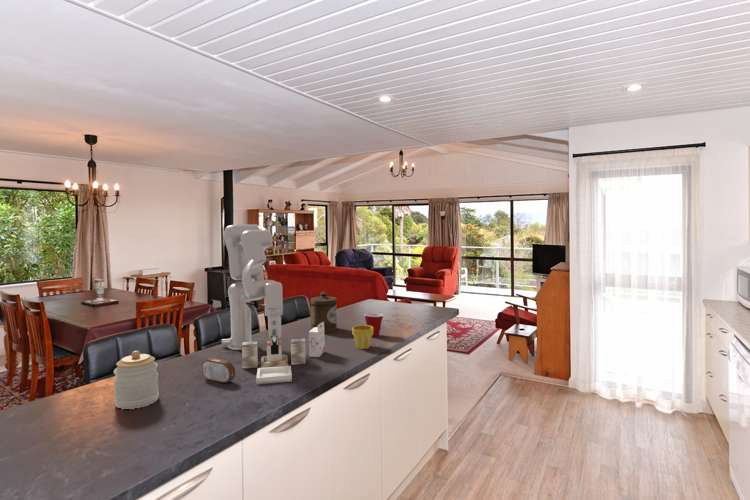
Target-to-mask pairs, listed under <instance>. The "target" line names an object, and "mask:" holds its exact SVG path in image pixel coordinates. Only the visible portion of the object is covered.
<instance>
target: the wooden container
mask: <svg viewBox="0 0 750 500" xmlns="http://www.w3.org/2000/svg"><path fill="white" fill-rule="evenodd" d="M319 294H320V296H315V297H311V298H310V320H309V321H310V324H309V325H310V326H309V327H310V330H312V329H313V328H314V327H318V325H319V324H320V323H322V322H324V334H328V333H329V332H330V333H334V332H336V331H337V329H338V326H337V324H338V323H337V322H338V321H337V320H338V319H337V317H338V316H337V314H338V313H337V297H334V296H328V295H327V292H326V291H322V292H320V293H319ZM320 327H322V325H321V326H320Z"/></svg>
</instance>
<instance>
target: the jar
mask: <svg viewBox="0 0 750 500" xmlns="http://www.w3.org/2000/svg"><path fill="white" fill-rule="evenodd" d="M155 360H156V357H154V356H152V355H150V354H147V353H140V351H139V350H134V351H132V352H131V355H128V356H124V357H122V358H121V359H119V361H117V362H116V363H115V365H116V366H117V367H115V369H114V370H113V374H114V375H115V379H114V380H113V383H114V394H115V395H114V403H115V408H117V407H118V409H119V408H121V409H120V410H124V409H130V410H136V409H135V408H137V409H141V407H142V408H145V407H148V406H150V404H151V405H153V404H154V403H156V402H157V401H158V400H159V395H160V394H159V393H160V391H159V378H158V377H159V373H158V372H157V368H158V367H159V365H158V363H157V362H155Z"/></svg>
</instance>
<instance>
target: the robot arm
mask: <svg viewBox="0 0 750 500" xmlns="http://www.w3.org/2000/svg"><path fill="white" fill-rule="evenodd" d="M273 238H274V237H273V235H272V233H271V232H270V230H269V229H267V228H266V227H263V226H262V225H259V224H244V223H243V224H231V225H227V226H226V227H225V229H224V230H223V241H224V244H225V246H226V250H227V253H228V266H229V268H228V269H229V274H230V278H231V279H232V280H235V281H241V282H235V283H232V284H230V286H229V287H228V289H227V295H228V300H229V306H230V309H229V310H230V338H222V339H221V344H223V345H226V344H227V348H228V349H229V350H232V351H233V350H235V351H242V343H243V342H254V341H253V340H252V311H251V308H250V307H249V305H248V304H247V303H246V302H252V301H259V300H262V299H263V301H264V316H265V317H267V327H268V329H267V330H268V336H269V337H268V338H269V340H270V341H271V355H273V354H279V344H278V340H282V317H281V316H283V315H284V305H283V303H284V301H283V300H284V299H283V297H284V296H283V284H282V283H281V282H280V281H276V280H274V279H268V280H267V279H266V280H265V279H264V277H265V276H264V267H263V265H264V264H265V263H266V261H267V257H266V253H265V250H264V248H270V247H271V246H272V244H273V240H274V239H273ZM272 344H273V345H272Z"/></svg>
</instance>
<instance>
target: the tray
mask: <svg viewBox="0 0 750 500" xmlns="http://www.w3.org/2000/svg"><path fill="white" fill-rule="evenodd" d="M292 373H293V372H292V365H288V366H280V367H267V368H261V367H257V372H256V379H255V380H256V383H255V384H256V385H267V384H278V383H289V382H290V383H291V382H292V381H293V378H292V377H293V374H292Z"/></svg>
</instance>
